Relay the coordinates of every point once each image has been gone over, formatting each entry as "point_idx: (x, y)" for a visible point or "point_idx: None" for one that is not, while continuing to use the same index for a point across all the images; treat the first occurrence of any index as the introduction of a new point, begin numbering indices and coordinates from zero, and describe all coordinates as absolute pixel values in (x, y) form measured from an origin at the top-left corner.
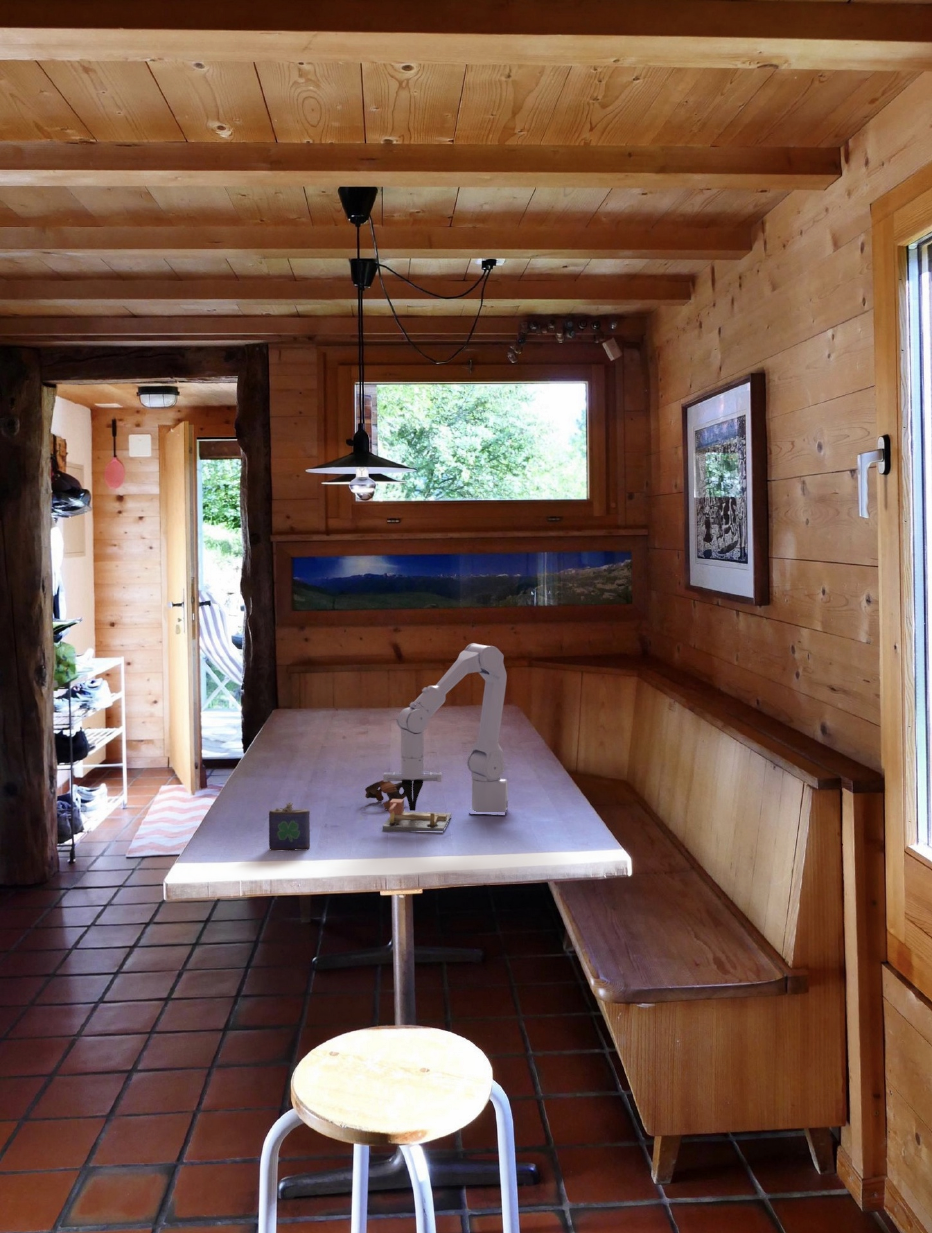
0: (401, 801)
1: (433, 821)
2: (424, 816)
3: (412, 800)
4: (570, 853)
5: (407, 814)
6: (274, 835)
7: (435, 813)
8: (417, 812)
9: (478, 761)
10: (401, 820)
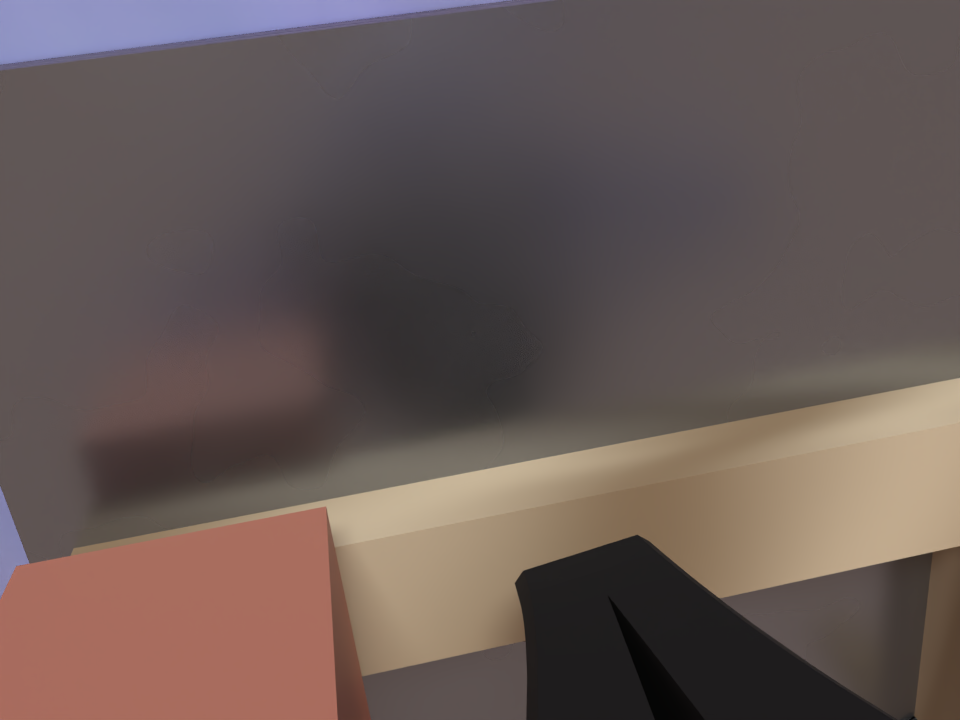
0: None
1: None
2: (812, 561)
3: (637, 685)
4: None
5: (470, 624)
6: None
7: (954, 39)
8: (531, 67)
9: None
10: (390, 713)
